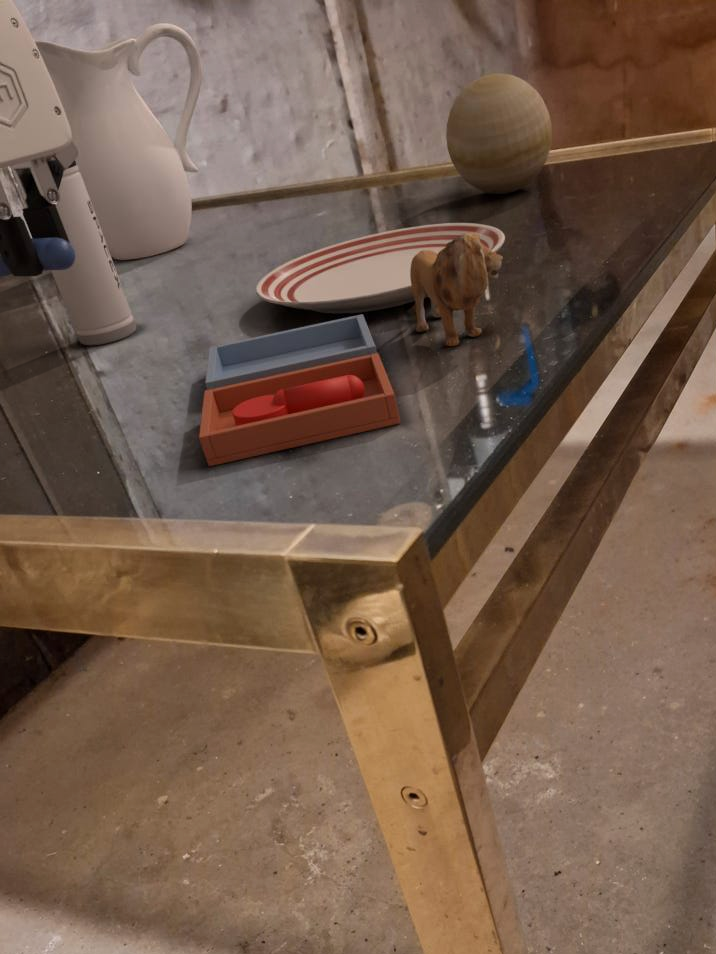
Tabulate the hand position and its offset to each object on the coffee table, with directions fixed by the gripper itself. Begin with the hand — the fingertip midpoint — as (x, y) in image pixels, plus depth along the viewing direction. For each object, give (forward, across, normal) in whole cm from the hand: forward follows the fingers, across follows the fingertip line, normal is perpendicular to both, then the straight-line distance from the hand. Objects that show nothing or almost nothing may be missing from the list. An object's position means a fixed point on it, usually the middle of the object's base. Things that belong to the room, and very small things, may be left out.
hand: (43, 267), depth 69 cm
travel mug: (+13, +20, +24) cm, 34 cm away
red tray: (+13, +5, -17) cm, 22 cm away
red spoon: (+13, +5, -17) cm, 22 cm away
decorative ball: (+13, +82, +8) cm, 84 cm away
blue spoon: (0, 0, +2) cm, 2 cm away
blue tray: (+13, +14, -9) cm, 21 cm away
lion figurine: (+13, +26, -19) cm, 34 cm away
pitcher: (+13, +58, +54) cm, 80 cm away
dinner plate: (+13, +38, -2) cm, 40 cm away
